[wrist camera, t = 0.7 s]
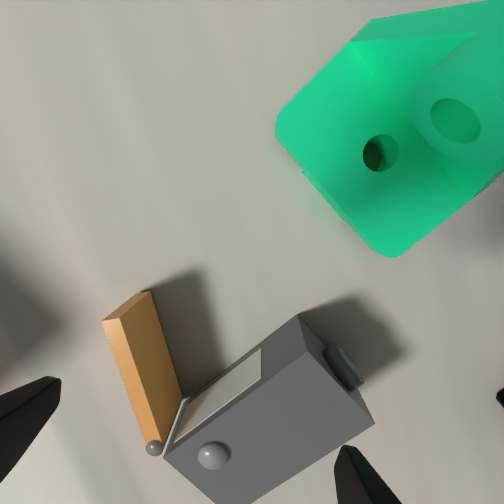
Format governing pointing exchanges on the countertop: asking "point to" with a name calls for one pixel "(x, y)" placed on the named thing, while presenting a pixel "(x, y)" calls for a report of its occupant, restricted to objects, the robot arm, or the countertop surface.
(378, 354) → the countertop surface
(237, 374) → the housing
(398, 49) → the camera mount
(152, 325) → the door
